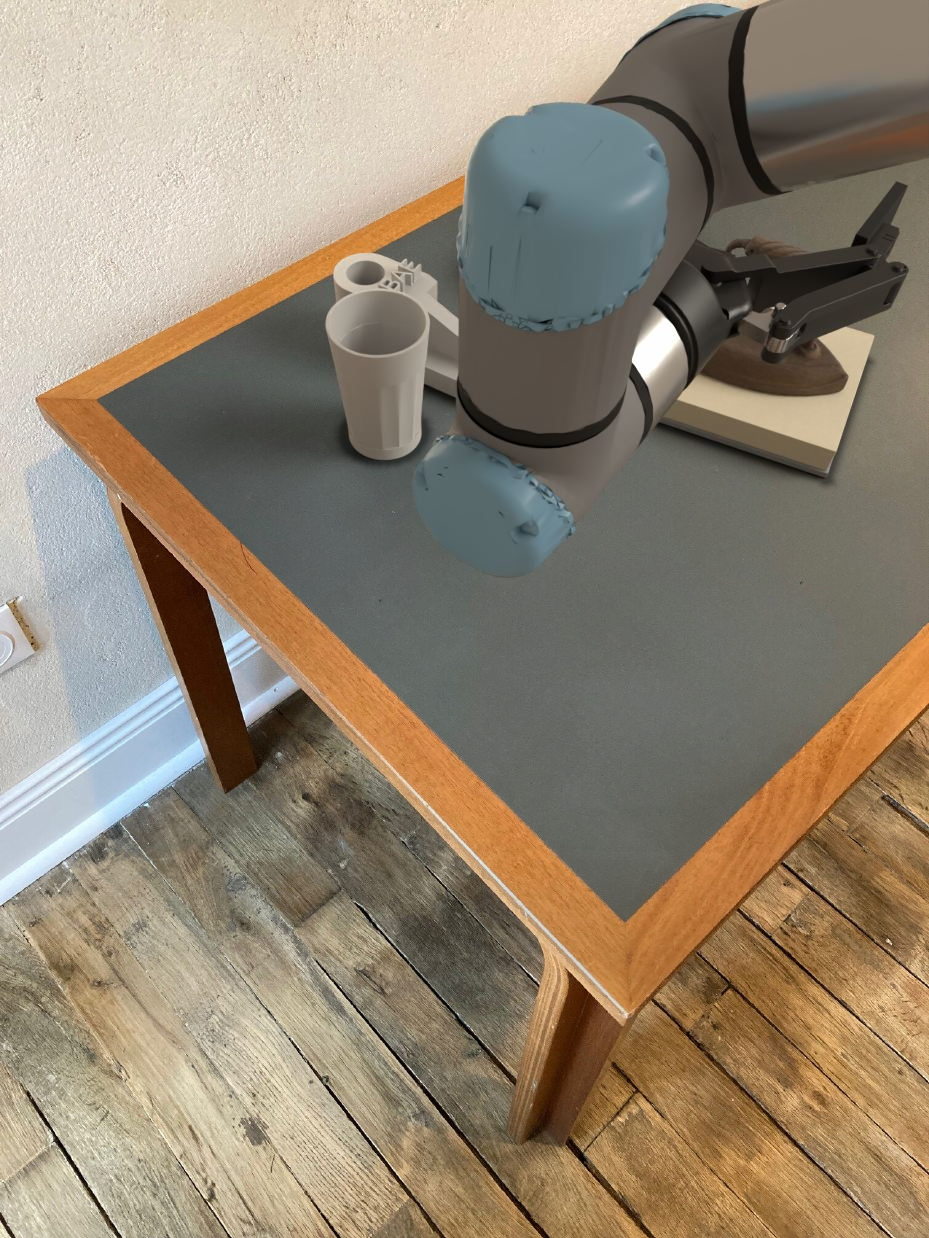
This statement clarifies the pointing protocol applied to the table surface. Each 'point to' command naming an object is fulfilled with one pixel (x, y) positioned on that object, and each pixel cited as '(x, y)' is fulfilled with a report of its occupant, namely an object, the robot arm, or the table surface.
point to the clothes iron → (798, 371)
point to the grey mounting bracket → (404, 278)
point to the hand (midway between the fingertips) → (792, 165)
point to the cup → (380, 368)
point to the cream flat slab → (776, 412)
